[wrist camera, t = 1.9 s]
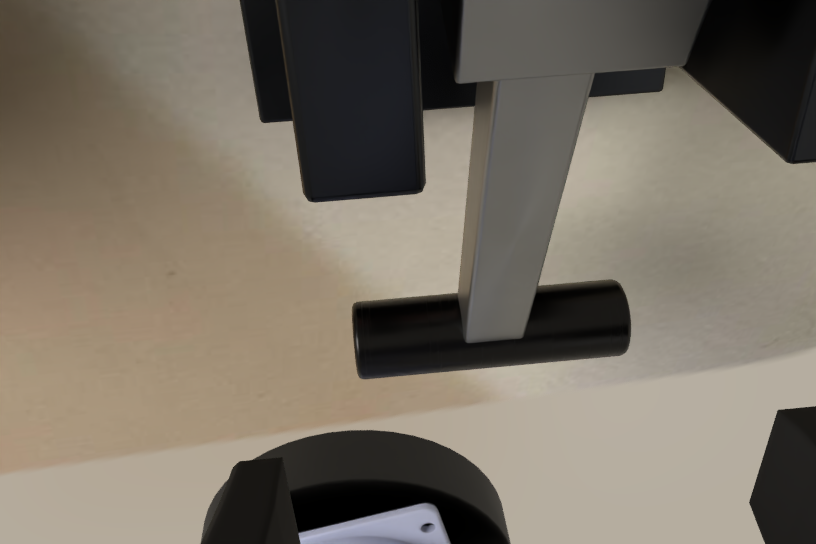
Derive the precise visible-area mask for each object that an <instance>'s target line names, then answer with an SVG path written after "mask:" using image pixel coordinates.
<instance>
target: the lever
mask: <svg viewBox="0 0 816 544" xmlns="http://www.w3.org/2000/svg"><path fill="white" fill-rule="evenodd" d="M440 1H441V7H442V13H443V19H444V25H445V30H446V36H447V42H448V48H449V54H450V59H451V65H452V71H453V77H454V79H455V81H456V83H459V84H462V83H475V82H477V89H476V100H475V111H474V122H473V133H472V144H471V155H470V166H469V177H468V188H467V199H466V210H465V222H464V233H463V244H462V255H461V266H460V277H459V288H458V293H452V294H441V295H430V296H419V297H407V298H396V299H385V300H373V301H362V302H356V303H354V304H353V307H352V323H353V338H354V349H355V359H356V367H357V373H358V376H359V378H361V379H373V378H384V377H395V376H406V375H416V374H427V373H438V372H449V371H460V370H470V369H481V368H492V367H503V366H514V365H525V364H535V363H546V362H557V361H568V360H579V359H589V358H600V357H611V356H620V355H622V354H624V353H625V352H626V351H627V349H628V347H629V343H630V337H631V318H630V310H629V305H628V301H627V298H626V295H625V292H624V290H623V288H622V286H621V285H620V283H619V282H617V281H615V280H599V281H588V282H577V283H565V284H554V285H543V286H538V282H539V279H540V275H541V271H542V268H543V264H544V260H545V256H546V253H547V249H548V245H549V242H550V238H551V234H552V230H553V227H554V223H555V219H556V216H557V212H558V208H559V205H560V201H561V197H562V193H563V190H564V186H565V182H566V179H567V175H568V171H569V167H570V164H571V160H572V156H573V153H574V149H575V145H576V141H577V138H578V134H579V130H580V127H581V123H582V119H583V115H584V112H585V108H586V104H587V101H588V97H589V93H590V90H591V86H592V82H593V78H594V75H595V73H603V72H615V71H628V70H641V69H654V68H667V67H679V66H684V65H685V64H686V63H687V61H688V59H689V56H690V54H691V51H692V49H693V46H694V44H695V41H696V39H697V36H698V34H699V31H700V29H701V27H702V24H703V22H704V19H705V17H706V14H707V12H708V9H709V7H710V4H711V2H712V0H440Z"/></svg>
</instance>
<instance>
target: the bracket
mask: <svg viewBox="0 0 816 544" xmlns="http://www.w3.org/2000/svg"><path fill="white" fill-rule="evenodd" d="M240 5H241V11H242V17H243V23H244V29H245V35H246V41H247V46H248V52H249V58H250V64H251V70H252V76H253V81H254V87H255V93H256V99H257V105H258V111H259V117H260V120H261V122H263V123H270V122H283V121H293V126H294V133H295V140H296V147H297V154H298V160H299V167H300V174H301V181H302V188H303V193H304V195H305V197H306V198H307V200H308V201H310V202H326V201H338V200H350V199H362V198H374V197H386V196H398V195H410V194H417V193H420V192H422V191H423V188H424V186H425V183H426V178H425V155H424V131H423V110H434V109H447V108H459V107H472V106H475V100H476V89H477V82H475V83H462V84H459V83H456V81H455V79H454V77H453V71H452V65H451V59H450V54H449V48H448V42H447V36H446V30H445V25H444V19H443V13H442V7H441V1H440V0H240ZM679 68H680V69H682V70H683V71H684V72H685V73H686V74H687V75H688V76H690V77H691V78H692V79H693V80H694V81H695V82H696V83H697V84H699V85H700V86H701V87H702V88H703V89H704V90H705V91H706V92H708V93H709V94H710V95H711V96H712V97H713V98H714V99H715V100H717V101H718V102H719V103H720V104H721V105H722V106H723V107H724V108H726V109H727V110H728V111H729V112H730V113H731V114H732V115H734V116H735V117H736V118H737V119H738V120H739V121H740V122H741V123H743V124H744V125H745V126H746V127H747V128H748V129H749V130H750V131H752V132H753V133H754V134H755V135H756V136H757V137H758V138H759V139H761V140H762V141H763V142H764V143H765V144H766V145H767V146H768V147H770V148H771V149H772V150H773V151H774V152H775V153H776V154H778V155H779V156H780V157H781V158H782V159H783V160H784V161H785V162H787V163H790V164H798V163H810V162H816V0H712V2H711V4H710V7H709V9H708V12H707V14H706V17H705V19H704V22H703V24H702V27H701V29H700V31H699V34H698V36H697V39H696V41H695V44H694V46H693V49H692V51H691V54H690V56H689V59H688V61H687V63H686V64H685V65H684V66H679ZM665 70H666V68H654V69H641V70H628V71H615V72H603V73H595V75H594V78H593V82H592V86H591V90H590V93H589V97H598V96H611V95H623V94H636V93H649V92H660V91H662V89H663V84H664V77H665Z"/></svg>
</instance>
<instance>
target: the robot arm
mask: <svg viewBox="0 0 816 544" xmlns="http://www.w3.org/2000/svg"><path fill="white" fill-rule="evenodd" d="M749 503H750V506H751V508H752V511H753V514H754V516H755V518H756V521H757V524H758V526H759V529H760V532H761V534H762V537H763V539H764V542H765V544H816V406H815V407H805V408H795V409H785V410H778V411H777V415H776V418H775V421H774V424H773V427H772V431H771V434H770V437H769V441H768V444H767V447H766V450H765V453H764V456H763V460H762V463H761V466H760V469H759V473H758V476H757V479H756V482H755V486H754V489H753V492H752V495H751V498H750V502H749ZM201 544H451V542H450V540H449V537H448V534H447V532H446V529H445V527H444V524H443V521H442V519H441V516H440V513H439V511H438V508H437V507H436V505H434V504H433V503H431V502H419V503H415V504H411V505H406V506H402V507H398V508H394V509H390V510H386V511H382V512H377V513H373V514H369V515H365V516H361V517H357V518H353V519H348V520H344V521H340V522H336V523H332V524H328V525H323V526H319V527H315V528H311V529H307V530H303V531H299V532H298V530H297V525H296V521H295V516H294V511H293V506H292V501H291V497H290V492H289V487H288V482H287V478H286V473H285V468H284V463H283V459H282V457H281V458H271V459H260V460H250V461H240V462H239V463H237V464H236V465H235V466H234V467H233V469H232V471H231V474H230V477H229V480H228V482H227V485H226V487H225V490H224V492H223V495H222V497H221V500H220V502H219V504H218V507H217V509H216V511H215V514H214V516H213V518H212V521H211V523H210V525H209V527H208V529H207V531H206V534H205V536H204V538H203V540H202V542H201Z"/></svg>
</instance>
